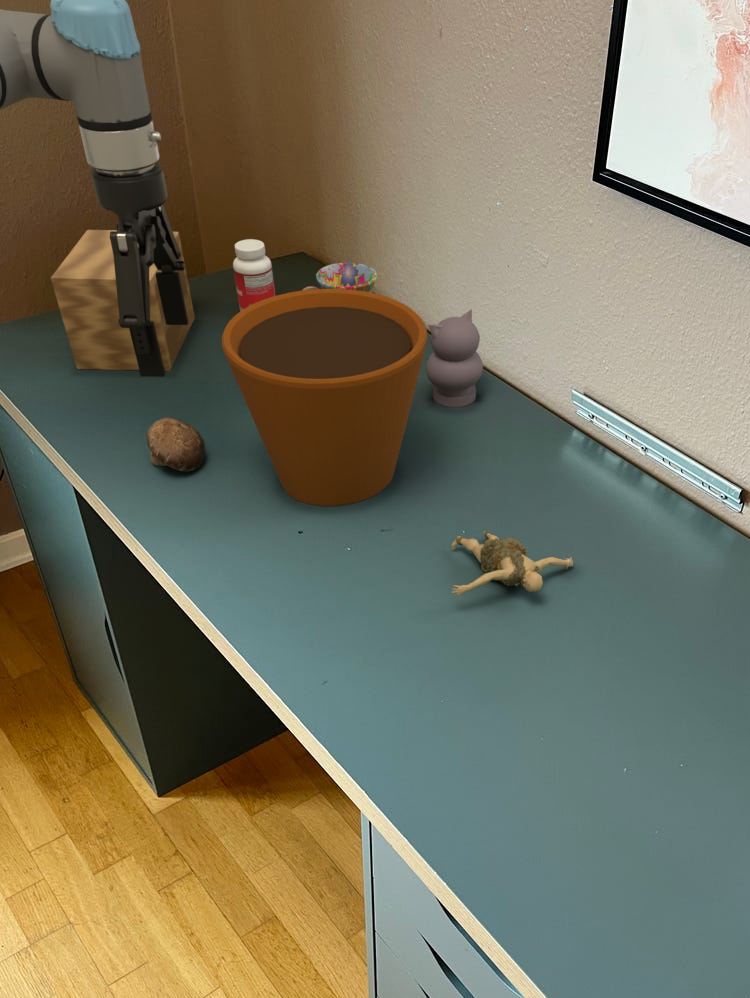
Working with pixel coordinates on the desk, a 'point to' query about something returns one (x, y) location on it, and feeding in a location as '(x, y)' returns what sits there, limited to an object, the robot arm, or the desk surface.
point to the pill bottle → (252, 273)
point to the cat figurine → (454, 361)
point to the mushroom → (175, 444)
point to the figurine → (506, 563)
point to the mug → (346, 277)
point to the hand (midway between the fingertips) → (165, 348)
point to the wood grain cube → (109, 307)
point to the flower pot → (328, 387)
